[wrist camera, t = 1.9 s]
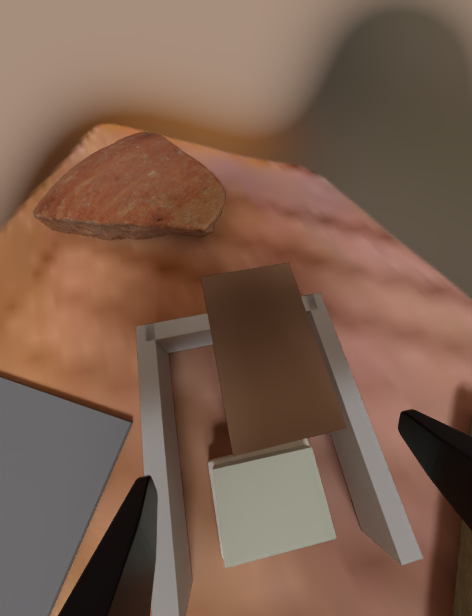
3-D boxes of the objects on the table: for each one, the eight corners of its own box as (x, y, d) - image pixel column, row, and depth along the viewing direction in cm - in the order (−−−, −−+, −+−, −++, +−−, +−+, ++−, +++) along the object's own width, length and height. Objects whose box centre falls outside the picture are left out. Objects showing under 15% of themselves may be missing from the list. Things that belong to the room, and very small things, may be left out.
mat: (32, 656, 13) (26, 663, 13) (-150, 573, 14) (-160, 578, 14) (132, 422, 18) (130, 422, 18) (-11, 372, 19) (-15, 372, 19)
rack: (378, 525, 16) (423, 558, 12) (172, 588, 15) (153, 647, 11) (304, 313, 22) (320, 292, 18) (152, 342, 20) (135, 326, 17)
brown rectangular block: (275, 419, 18) (346, 428, 7) (229, 430, 18) (233, 456, 7) (255, 343, 21) (289, 262, 10) (214, 351, 20) (200, 277, 9)
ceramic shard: (125, 275, 17) (15, 202, 22) (165, 308, 23) (70, 245, 28) (243, 138, 20) (123, 102, 25) (251, 198, 26) (152, 159, 31)
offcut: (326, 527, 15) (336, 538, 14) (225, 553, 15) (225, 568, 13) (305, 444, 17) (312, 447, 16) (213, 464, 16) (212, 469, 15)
